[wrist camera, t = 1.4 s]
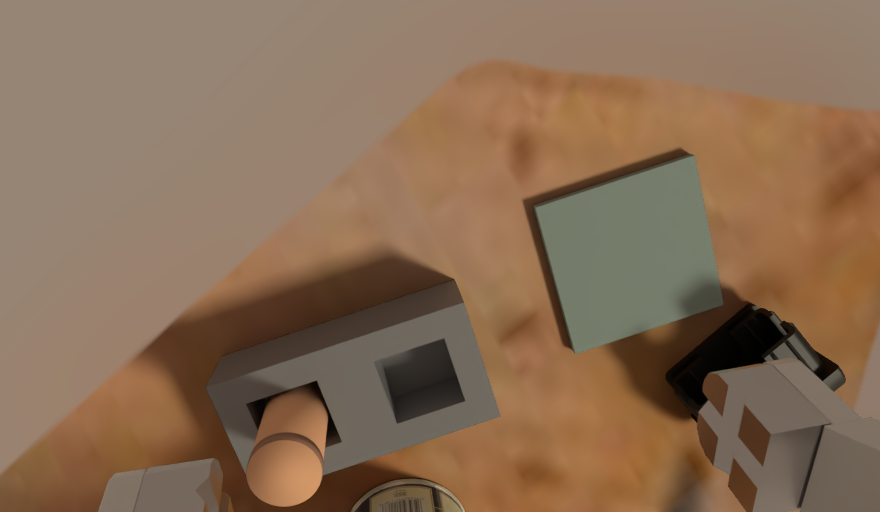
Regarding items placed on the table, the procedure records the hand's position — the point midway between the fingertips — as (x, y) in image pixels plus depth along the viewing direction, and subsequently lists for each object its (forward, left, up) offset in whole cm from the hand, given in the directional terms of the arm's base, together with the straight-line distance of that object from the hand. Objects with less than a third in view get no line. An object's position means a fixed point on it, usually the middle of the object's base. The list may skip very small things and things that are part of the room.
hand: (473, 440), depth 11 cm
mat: (-13, -14, -37) cm, 42 cm away
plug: (-15, +12, -36) cm, 41 cm away
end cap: (-25, -20, -37) cm, 49 cm away
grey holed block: (-15, +8, -37) cm, 40 cm away
